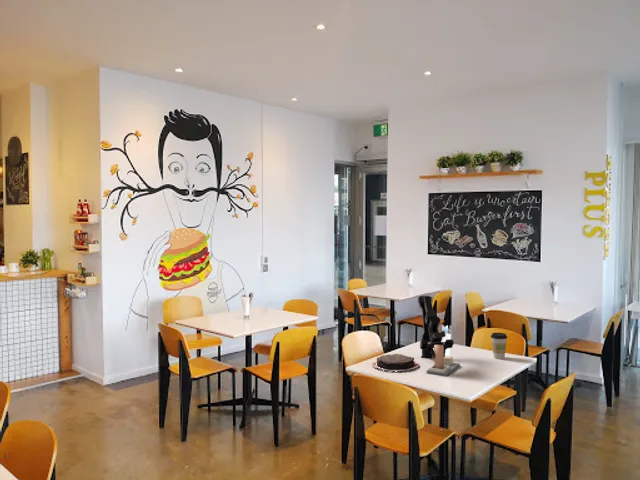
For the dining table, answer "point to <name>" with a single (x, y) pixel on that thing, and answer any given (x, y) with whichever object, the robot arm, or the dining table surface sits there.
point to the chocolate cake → (395, 363)
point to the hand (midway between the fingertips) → (439, 357)
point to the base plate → (448, 367)
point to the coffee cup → (499, 345)
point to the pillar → (439, 356)
